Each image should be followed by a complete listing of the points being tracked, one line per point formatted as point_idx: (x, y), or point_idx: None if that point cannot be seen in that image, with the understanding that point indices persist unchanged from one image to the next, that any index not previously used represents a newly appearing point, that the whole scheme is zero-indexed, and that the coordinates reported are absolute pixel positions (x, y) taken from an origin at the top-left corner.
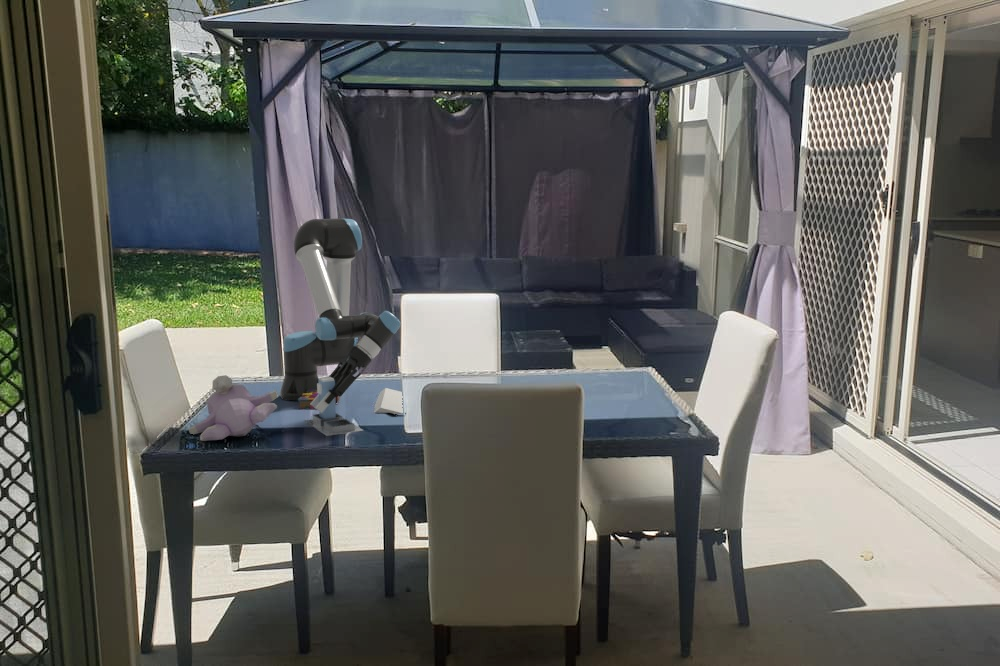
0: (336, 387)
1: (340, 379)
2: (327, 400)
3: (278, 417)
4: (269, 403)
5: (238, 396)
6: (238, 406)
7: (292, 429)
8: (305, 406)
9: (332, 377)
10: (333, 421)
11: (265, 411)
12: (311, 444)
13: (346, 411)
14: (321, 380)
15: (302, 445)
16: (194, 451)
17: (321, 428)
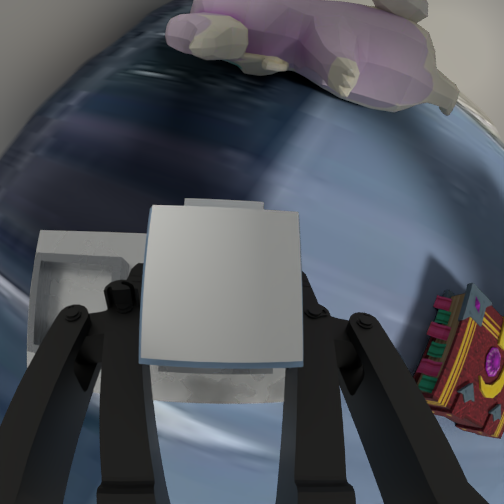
0: (105, 348)
1: (116, 427)
2: (130, 272)
3: (401, 209)
4: (209, 27)
5: (335, 9)
6: None
7: (235, 184)
8: (451, 312)
9: (379, 411)
10: None
11: (177, 30)
12: (41, 178)
13: None
14: (218, 215)
15: (52, 154)
16: (190, 8)
17: (128, 252)
